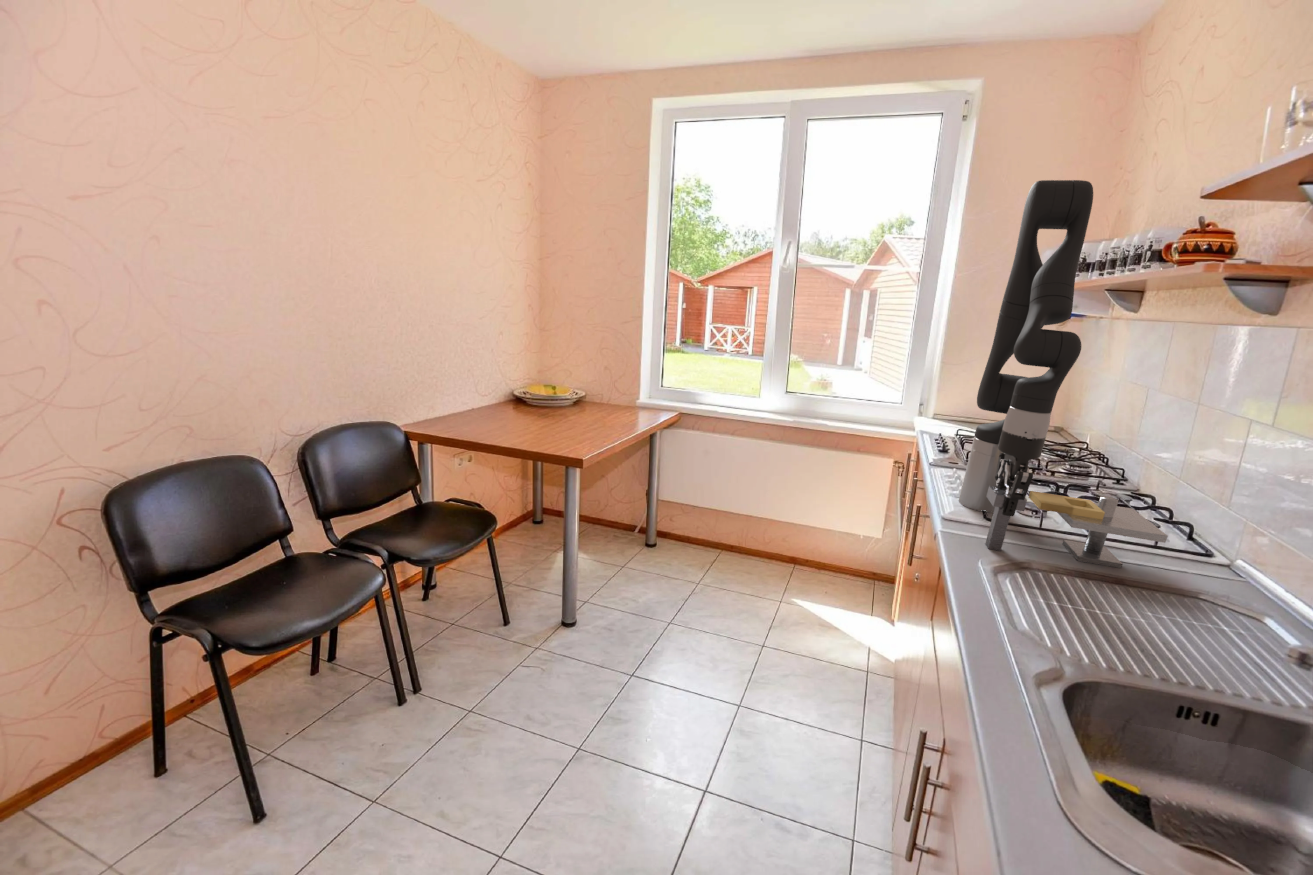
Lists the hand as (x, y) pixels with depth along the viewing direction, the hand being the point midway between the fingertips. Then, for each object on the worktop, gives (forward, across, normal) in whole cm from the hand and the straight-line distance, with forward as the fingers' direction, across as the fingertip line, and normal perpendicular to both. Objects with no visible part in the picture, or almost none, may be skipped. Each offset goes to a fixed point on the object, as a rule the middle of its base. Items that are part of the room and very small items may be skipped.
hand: (1003, 509), depth 121 cm
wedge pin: (+9, 0, 0) cm, 9 cm away
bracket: (-1, -5, +13) cm, 14 cm away
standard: (+9, -5, +20) cm, 22 cm away
